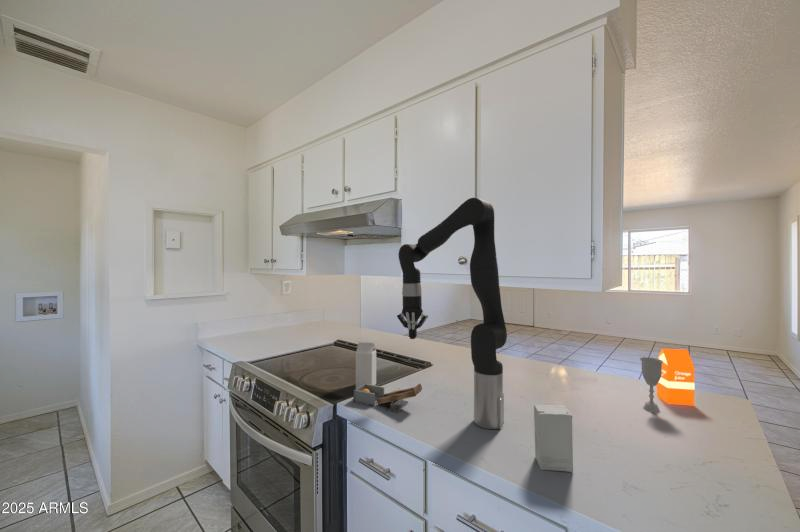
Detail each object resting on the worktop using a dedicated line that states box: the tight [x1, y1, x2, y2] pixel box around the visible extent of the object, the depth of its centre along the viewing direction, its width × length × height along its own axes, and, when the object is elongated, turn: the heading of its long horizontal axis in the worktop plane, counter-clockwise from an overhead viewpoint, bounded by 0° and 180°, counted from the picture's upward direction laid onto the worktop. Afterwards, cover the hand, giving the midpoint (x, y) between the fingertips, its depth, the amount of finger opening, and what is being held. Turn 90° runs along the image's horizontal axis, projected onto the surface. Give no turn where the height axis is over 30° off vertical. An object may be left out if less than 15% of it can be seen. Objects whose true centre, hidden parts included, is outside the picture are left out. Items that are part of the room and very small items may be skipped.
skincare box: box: [533, 404, 574, 473], centre depth 87 cm, size 8×6×15 cm
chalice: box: [639, 356, 663, 414], centre depth 120 cm, size 7×7×18 cm
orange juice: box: [656, 348, 695, 407], centre depth 129 cm, size 8×9×20 cm
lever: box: [377, 383, 423, 405], centre depth 125 cm, size 17×12×2 cm
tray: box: [352, 384, 385, 407], centre depth 128 cm, size 9×8×4 cm
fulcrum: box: [384, 399, 409, 413], centre depth 123 cm, size 5×9×3 cm, turn 154°
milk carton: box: [355, 341, 377, 389], centre depth 143 cm, size 7×7×19 cm
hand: (412, 338), depth 131 cm, fingers closed
